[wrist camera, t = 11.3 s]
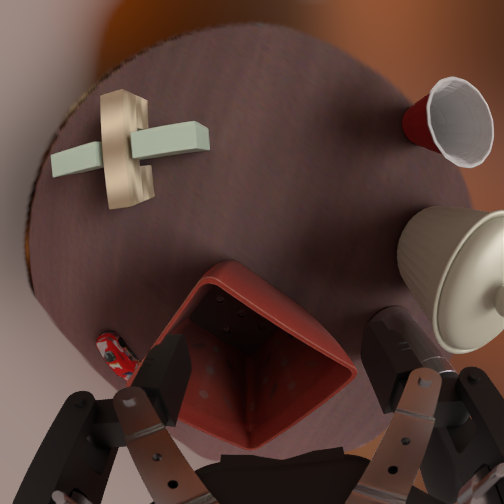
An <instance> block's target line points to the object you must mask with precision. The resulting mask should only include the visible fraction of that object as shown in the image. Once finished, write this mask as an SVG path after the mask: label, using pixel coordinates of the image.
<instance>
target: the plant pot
mask: <svg viewBox="0 0 504 504" xmlns="http://www.w3.org/2000/svg"><path fill="white" fill-rule="evenodd" d="M218 295H222V296H224V299H225V301H224V302H223V303H219V302H217V300H216V297H217V296H218ZM240 309H244V310H246V312H247V316H246V317H244V318H240V317H239V316H238V315H237V311H238V310H240ZM261 323H265V324H266V325H267V328H266V329H265V330H260V329H259V328H258V326H259V324H261ZM224 327H230V328H231V333H228V334H227V333H225V332H224V331H223V328H224ZM167 334H184V336H185V338H186V342H187V346H188V351H189V355H190V358H191V364H192V371H191V375H190V379H189V382H188V385H187V389H186V392H185V395H184V399H183V402H182V405H181V409H180V412H179V415H178V420H180V421H182V422H184V423H186V424H188V425H190V426H192V427H194V428H196V429H198V430H200V431H202V432H204V433H207V434H209V435H211V436H213V437H216V438H218V439H220V440H222V441H225V442H227V443H230V444H232V445H235V446H237V447H240V448H242V449H245V450H256V449H258V448H260V447H262V446H263V445H265V444H266V443H268V442H270V441H271V440H273V439H274V438H276V437H277V436H279V435H280V434H282V433H283V432H285V431H286V430H288V429H289V428H291V427H292V426H294V425H295V424H297V423H298V422H299V421H301V420H302V419H303V418H305V417H306V416H308V415H309V414H310V413H312V412H313V411H314V410H316V409H317V408H318V407H320V406H321V405H322V404H324V403H325V402H326V401H328V400H329V399H330V398H331V397H333V396H334V395H335V394H336V393H338V392H339V391H340V390H341V389H343V388H344V387H345V386H346V385H348V384H349V383H350V382H351V381H352V380H353V379H354V378H355V377H356V375H357V369H356V368H355V366H354V364H353V363H352V361H351V360H350V358H349V357H348V355H347V354H346V353H345V351H344V350H343V349H342V347H341V346H340V345H339V344H338V342H337V341H336V340H335V339H334V338H333V337H332V335H331V334H330V333H329V332H328V331H327V330H326V329H325V328H324V327H323V326H322V325H321V324H320V323H319V322H318V321H317V320H316V319H315V318H314V317H313V316H312V315H311V314H309V313H308V312H307V311H306V310H305V309H304V308H303V307H301V306H300V305H299V304H297V303H296V302H295V301H293V300H292V299H290V298H289V297H288V296H286V295H285V294H283V293H282V292H281V291H279V290H278V289H276V288H275V287H273V286H272V285H271V284H269V283H268V282H266V281H265V280H263V279H262V278H261V277H259V276H258V275H256V274H255V273H254V272H252V271H251V270H249V269H248V268H247V267H245V266H244V265H242V264H241V263H240V262H238V261H235V260H225V261H222V262H219V263H217V264H216V265H214V266H213V267H212V268H210V269H209V270H208V271H207V272H206V273H205V274H204V275H203V276H202V277H201V279H200V280H199V281H198V283H197V284H196V285H195V287H194V288H193V289H192V291H191V292H190V294H189V295H188V296H187V298H186V299H185V301H184V302H183V303H182V305H181V306H180V308H179V309H178V310H177V312H176V313H175V315H174V316H173V317H172V319H171V320H170V322H169V323H168V324H167V326H166V327H165V329H164V330H163V331H162V333H161V334H160V336H159V337H158V338H157V340H156V341H155V343H154V344H153V346H152V347H151V349H152V348H153V347H154V346H155V345H157V344H160V345H161V344H162V342H163V340H164V338H165V336H166V335H167ZM151 349H150V350H151ZM148 352H149V351H148ZM147 354H148V353H147ZM147 354H146V355H147ZM145 357H146V356H145ZM145 357H144V358H143V360H142V361H141V363H140V364H139V365H138V367H137V368H136V370H135V371H134V372H133V374H132V375H131V377H130V378H129V379H128V381H127V382H126V387H130V386H131V384H132V382H133V380H134V378H135V376H136V374H137V372H138V371H139V369H140V367H141V366H142V363H143V361H144V360H145Z"/></svg>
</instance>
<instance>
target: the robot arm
mask: <svg viewBox="0 0 504 504" xmlns="http://www.w3.org/2000/svg"><path fill="white" fill-rule="evenodd" d="M361 360H362V363H363V366H364V368H365V370H366V373H367V375H368V377H369V379H370V382H371V384H372V386H373V389H374V391H375V394H376V396H377V398H378V401H379V403H380V406H381V408H382V411H383V413H384V414H386V413H390V412H393V413H394V415H393V417H392V419H391V421H390V423H389V426H388V428H387V430H386V432H385V434H384V436H383V438H382V440H381V443H380V444H379V446H378V448H377V450H376V452H375V454H374V456H373V458H372V460H369V459H366V458H363V457H360V456H356V455H349V454H344V451H343V447H338V448H331V449H324V450H317V451H312V452H308V453H305V454H302V455H299V456H296V457H292V458H289V459H285V460H278V459H271V458H265V457H259V456H254V455H221V460H220V462H218V463H214V464H210V465H207V466H204V467H202V468H200V469H198V470H196V471H194V470H193V469H192V467H191V466H190V465H189V463H188V462H187V460H186V459H185V457H184V456H183V454H182V453H181V451H180V450H179V448H178V447H177V445H176V443H175V442H174V440H173V439H172V437H171V435H170V434H169V432H168V430H167V429H166V426H173V427H175V426H176V422H177V419H178V415H179V412H180V409H181V405H182V402H183V399H184V395H185V392H186V389H187V385H188V382H189V379H190V375H191V371H192V364H191V358H190V355H189V351H188V346H187V342H186V338H185V336H184V334H167V335H166V336H165V338H164V340H163V342H162V344H161V345H160V344H157V345H155V346H154V347H153V348H152V349H151V350H149V352H148V354H147V355H146V357H145V360H144V361H143V363H142V366H141V367H140V369H139V371H138V372H137V374H136V376H135V378H134V380H133V382H132V384H131V386H130V387H125V388H123V389H121V390H119V391H118V392H117V393H116V394H115V395H114V397H113V399H105V400H95V398H94V396H93V395H92V394H91V393H90V392H87V391H79V392H75V393H73V394H72V395H70V396H69V397H68V398H67V400H66V401H65V403H64V404H63V406H62V408H61V409H60V411H59V413H58V415H57V416H56V418H55V420H54V422H53V423H52V425H51V427H50V429H49V430H48V432H47V434H46V436H45V438H44V440H43V442H42V443H41V445H40V447H39V449H38V451H37V453H36V455H35V457H34V459H33V461H32V463H31V465H30V467H29V469H28V471H27V473H26V475H25V477H24V479H23V481H22V483H21V486H20V488H19V490H18V492H17V494H16V496H15V499H14V501H13V504H101V501H102V498H103V494H104V491H105V488H106V485H107V481H108V478H109V475H110V472H111V469H112V466H113V463H114V460H115V457H116V454H117V451H118V448H119V447H124V446H127V448H128V450H129V452H130V454H131V457H132V459H133V461H134V463H135V466H136V468H137V470H138V472H139V474H140V476H141V478H142V480H143V482H144V484H145V486H146V488H147V490H148V492H149V493H150V495H151V497H152V499H153V502H152V503H150V504H454V503H456V502H457V504H504V399H503V397H502V396H501V394H500V393H499V391H498V390H497V388H496V387H495V386H494V384H493V383H492V382H491V380H490V379H489V377H488V376H487V374H486V373H485V372H484V371H483V370H481V369H479V368H477V367H466V368H464V369H463V370H462V371H461V372H460V374H459V375H458V374H457V372H456V371H455V370H454V368H453V367H452V366H451V365H450V363H449V362H448V360H447V359H446V358H445V356H444V355H443V354H442V353H441V351H440V350H439V349H438V347H437V346H436V345H435V344H434V342H433V341H432V340H431V339H430V337H429V336H428V335H427V334H426V332H425V331H424V330H423V329H422V327H421V326H420V325H419V324H418V322H417V321H416V320H415V319H414V318H413V316H412V315H411V314H410V313H409V312H408V311H407V310H406V309H405V308H403V307H400V306H393V307H388V308H386V309H383V310H382V311H380V312H379V313H377V314H376V315H375V316H374V317H373V318H372V319H371V320H370V322H367V323H365V326H364V333H363V340H362V347H361ZM470 416H471V418H472V419H471V418H470ZM419 468H420V470H421V474H422V477H423V481H424V484H425V487H426V490H427V492H428V494H427V493H425V492H424V491H422V490H420V489H418V488H416V487H414V486H413V482H414V480H415V478H416V475H417V473H418V470H419Z"/></svg>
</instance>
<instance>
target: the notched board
mask: <svg viewBox="0 0 504 504" xmlns="http://www.w3.org/2000/svg"><path fill="white" fill-rule="evenodd" d="M131 145H132V157H133V158H139V161H140V160H145V159H151V158H157V157H163V156H170V155H177V154H184V153H192V152H200V151H208V150H210V145H209V132H208V128H206V127H205V126H203V125H201V124H200V123H198V122H196V121H191V122H184V123H178V124H172V125H166V126H160V127H155V128H150V129H145V130H140V131H136V132H131ZM51 163H52V173H53V177H58V176H64V175H70V174H76V173H82V172H87V171H92V170H96V169H100V168H104V161H103V149H102V142H92V143H88V144H85V145H81V146H78V147H75V148H71V149H68V150H65V151H62V152H59V153H56V154H53V155H51Z"/></svg>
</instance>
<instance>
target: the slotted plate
mask: <svg viewBox="0 0 504 504" xmlns="http://www.w3.org/2000/svg"><path fill="white" fill-rule="evenodd" d="M100 102H101V133H102V149H103V161H104V171H105V180H106V189H107V196H108V204H109V209H116V208H123V207H131V206H133V205H136V204H138V203H140V202H143V201H145V200H148V199H150V198H153V197H155V195H154V187H153V177H152V167H151V165H146V166H140V161H139V158H133V157H132V145H131V132H136V131H140V130H145V129H148V111H147V100H145V99H143V98H141V97H139V96H136V95H134V94H132V93H130V92H127V91H125V90H123V89H121V90H117V91H114V92H111V93H107V94H104V95H101V96H100Z"/></svg>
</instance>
